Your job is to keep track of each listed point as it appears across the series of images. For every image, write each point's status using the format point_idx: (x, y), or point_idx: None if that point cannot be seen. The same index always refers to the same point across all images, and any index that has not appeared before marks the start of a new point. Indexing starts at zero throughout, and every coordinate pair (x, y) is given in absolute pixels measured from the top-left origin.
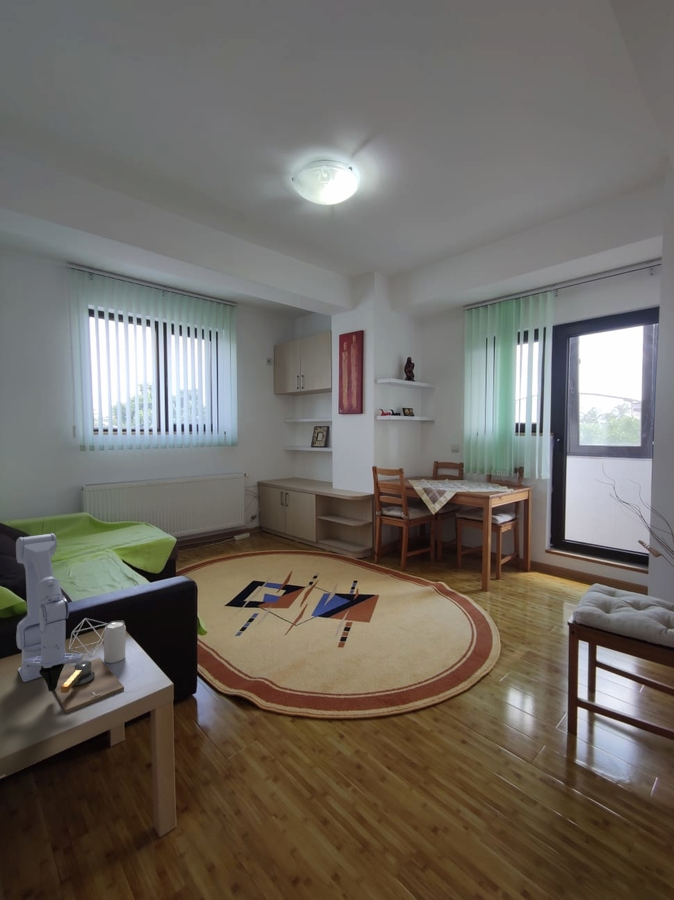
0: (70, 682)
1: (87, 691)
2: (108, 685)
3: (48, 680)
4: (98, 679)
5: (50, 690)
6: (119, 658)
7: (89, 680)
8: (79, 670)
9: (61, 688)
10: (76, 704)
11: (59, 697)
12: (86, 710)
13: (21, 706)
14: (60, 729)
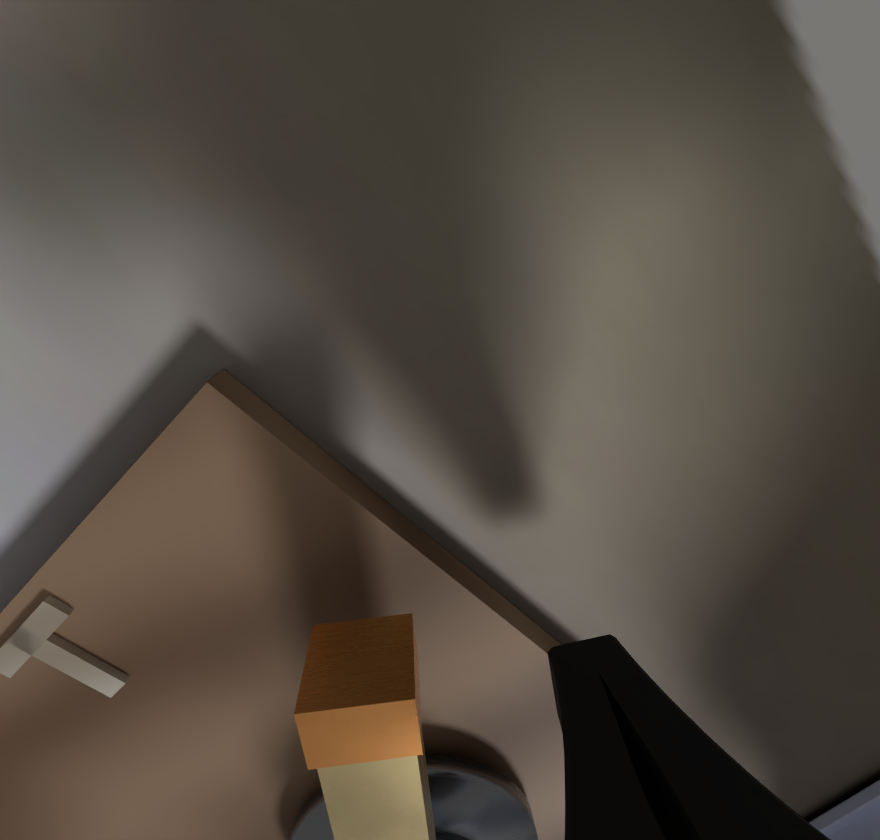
0: (332, 797)
1: (207, 696)
2: (48, 792)
3: (707, 805)
4: None
5: (594, 644)
6: None
7: (295, 832)
8: None
9: (402, 671)
10: (149, 488)
11: (462, 589)
12: (6, 432)
13: (811, 462)
14: (30, 17)
